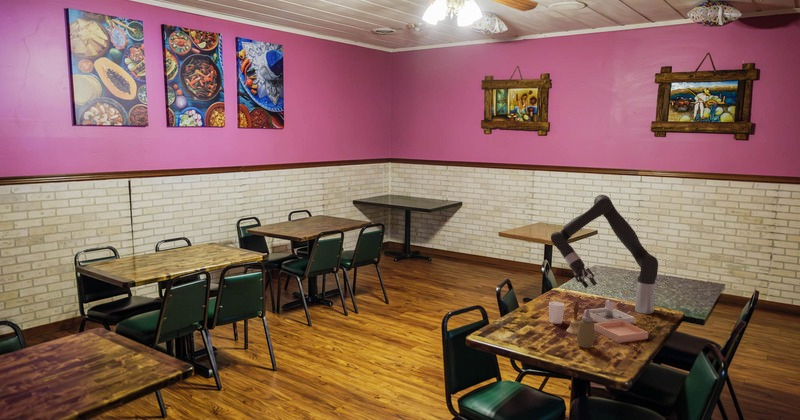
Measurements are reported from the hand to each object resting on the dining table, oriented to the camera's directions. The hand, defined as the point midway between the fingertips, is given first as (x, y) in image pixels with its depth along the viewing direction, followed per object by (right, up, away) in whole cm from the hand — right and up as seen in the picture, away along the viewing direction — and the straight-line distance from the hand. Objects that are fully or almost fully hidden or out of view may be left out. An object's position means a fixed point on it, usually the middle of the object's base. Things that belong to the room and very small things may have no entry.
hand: (591, 286), depth 312 cm
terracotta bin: (+5, -20, -28) cm, 35 cm away
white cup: (-23, -18, -11) cm, 31 cm away
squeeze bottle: (-18, -22, -45) cm, 54 cm away
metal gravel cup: (+7, -16, -6) cm, 19 cm away
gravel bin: (+7, -17, -6) cm, 20 cm away
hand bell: (-17, -20, -26) cm, 37 cm away
